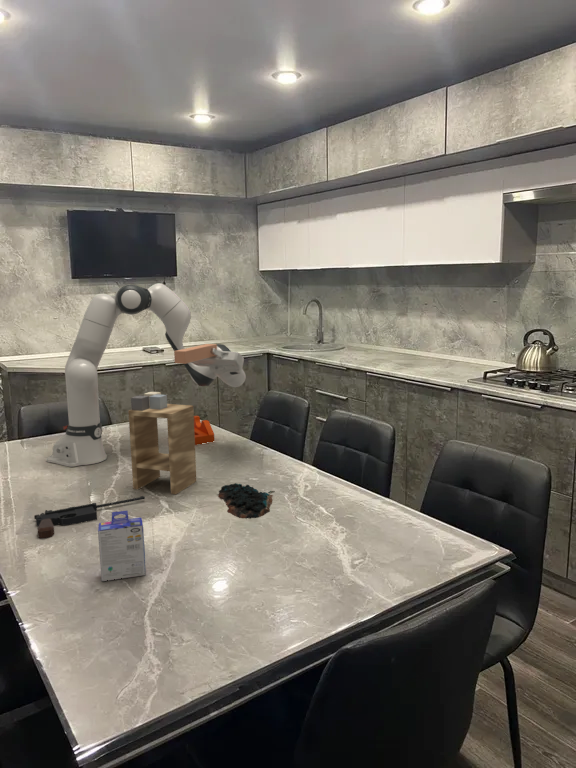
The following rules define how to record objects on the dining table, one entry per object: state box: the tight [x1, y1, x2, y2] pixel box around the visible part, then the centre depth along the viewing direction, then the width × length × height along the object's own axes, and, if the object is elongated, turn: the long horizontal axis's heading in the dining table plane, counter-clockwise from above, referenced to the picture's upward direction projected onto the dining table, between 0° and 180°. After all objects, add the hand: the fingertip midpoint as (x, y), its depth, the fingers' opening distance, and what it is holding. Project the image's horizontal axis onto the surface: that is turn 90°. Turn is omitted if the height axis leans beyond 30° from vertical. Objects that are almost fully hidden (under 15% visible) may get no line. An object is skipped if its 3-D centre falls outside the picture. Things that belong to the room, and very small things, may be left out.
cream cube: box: [143, 391, 162, 406], centre depth 196 cm, size 4×4×4 cm
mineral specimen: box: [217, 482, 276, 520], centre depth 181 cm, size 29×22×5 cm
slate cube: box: [149, 394, 168, 410], centre depth 191 cm, size 4×4×4 cm
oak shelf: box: [127, 403, 197, 495], centre depth 193 cm, size 16×13×26 cm
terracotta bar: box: [173, 343, 218, 365], centre depth 202 cm, size 4×22×4 cm, turn 159°
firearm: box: [34, 495, 146, 540], centre depth 169 cm, size 32×3×15 cm
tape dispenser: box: [194, 415, 216, 446], centre depth 251 cm, size 18×13×8 cm
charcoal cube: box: [130, 395, 149, 411], centre depth 189 cm, size 4×4×4 cm
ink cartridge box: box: [97, 510, 146, 582], centre depth 135 cm, size 10×6×14 cm, turn 107°
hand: (205, 349), depth 208 cm, fingers closed on terracotta bar, 4 cm apart
